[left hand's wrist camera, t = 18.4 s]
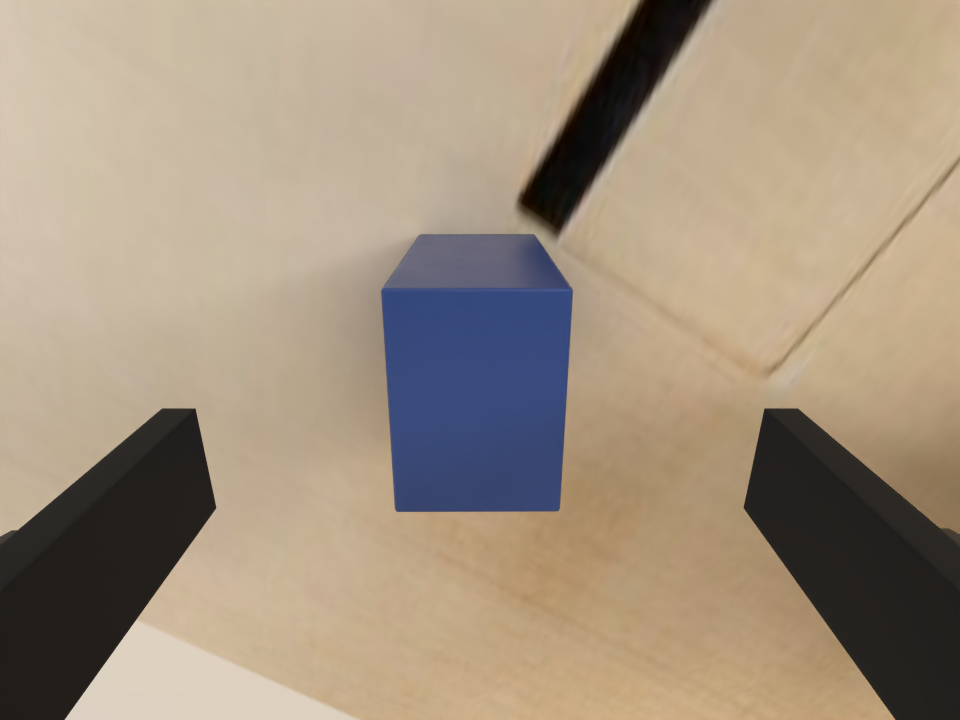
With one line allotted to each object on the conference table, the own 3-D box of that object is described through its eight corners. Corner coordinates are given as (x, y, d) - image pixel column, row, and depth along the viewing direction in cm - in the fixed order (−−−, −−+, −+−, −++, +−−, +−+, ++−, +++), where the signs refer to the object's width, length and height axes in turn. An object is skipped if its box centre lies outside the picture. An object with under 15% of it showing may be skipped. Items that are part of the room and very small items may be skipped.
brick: (424, 382, 28) (394, 513, 18) (419, 234, 25) (380, 288, 15) (530, 382, 28) (560, 512, 18) (535, 234, 25) (573, 288, 15)
